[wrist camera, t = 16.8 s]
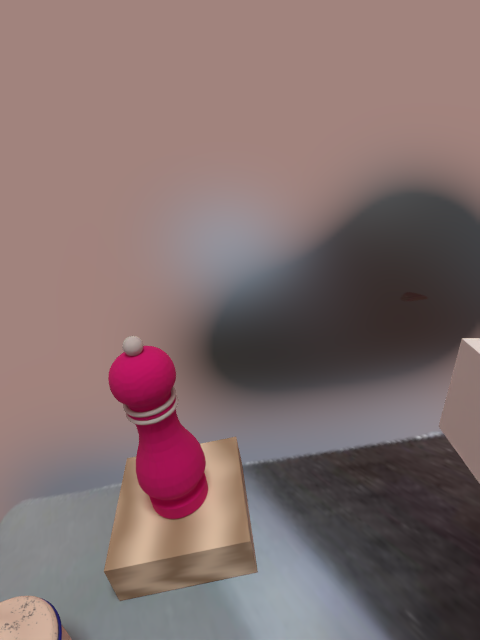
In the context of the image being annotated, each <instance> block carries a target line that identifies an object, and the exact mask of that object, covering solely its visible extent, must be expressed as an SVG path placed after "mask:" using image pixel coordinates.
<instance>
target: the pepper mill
mask: <svg viewBox="0 0 480 640" xmlns="http://www.w3.org/2000/svg"><path fill="white" fill-rule="evenodd" d="M123 350H124V353H122V354H121V355H120V356H118V357H117V358H116V360H115V361H114V362H113V364H112V366H111V368H110V371H109V385H110V390H111V392H112V394H113V395H114V397H115V398H116V399H117V400H118V401H119V402H121V403H123V408H124V410H125V412H126V417H127V418H128V420H129V421H130V422H132V423H134V424H135V425H136V426H137V429H138V433H139V446H138V451H137V456H136V475H137V479H138V483H139V485H140V487H141V489H142V490H143V491H144V492H145V493H146V494H147V495H149V498H150V500H151V503H152V506H153V508H154V510H155V511H156V512H157V513H158V514H159V515H160V516H162V517H165V518H169V519H179V518H182V517H185V516H188V515H190V514H192V513H193V512H194V511H196V510H197V509H198V508H199V507H200V506H201V505H202V503H203V502H204V500H205V498H206V496H207V493H208V484H207V480H206V476H205V473H204V471H205V466H206V460H205V455H204V452H203V450H202V448H201V445H200V444H199V442H198V441H197V440H196V438H195V437H194V436H193V435H192V434H191V433H190V432H189V431H188V430H186V429H185V428H184V427H183V426H182V425H181V424H180V422H179V420H178V417H177V414H176V407H177V405H178V397H177V395H176V390H175V388H174V387H173V385H174V383H175V379H176V372H175V367H174V364H173V362H172V360H171V359H170V357H169V356H168V355H167V354H166V353H165V352H164V351H162V350H161V349H159V348H156V347H152V346H143V342H142V340H141V339H140V338H139V337H136V336H130V337H128V338H126V339H125V340H124V342H123Z"/></svg>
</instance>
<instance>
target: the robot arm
mask: <svg viewBox="0 0 480 640" xmlns="http://www.w3.org/2000/svg"><path fill="white" fill-rule="evenodd" d="M439 427H440V429H441V430H442V432H443V433H444V434H445V436H446V437H447V439H448V440H449V441H450V443H451V444H452V446H453V447H454V448H455V450H456V451H457V453H458V454H459V455H460V457H461V458H462V460H463V461H464V462H465V464H466V465H467V467H468V468H469V469H470V471H471V472H472V474H473V475H474V476H475V478H476V479H477V481H478V482H479V483H480V338H467V339H466V338H462V341H461V344H460V348H459V352H458V356H457V359H456V363H455V367H454V371H453V374H452V378H451V382H450V386H449V389H448V393H447V397H446V400H445V404H444V408H443V412H442V416H441V419H440V423H439Z"/></svg>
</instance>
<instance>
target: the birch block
mask: <svg viewBox="0 0 480 640" xmlns="http://www.w3.org/2000/svg"><path fill="white" fill-rule="evenodd" d="M200 445H201V448H202V450H203V452H204V455H205V460H206V466H205V471H204V473H205V476H206V480H207V484H208V493H207V496H206V498H205V500H204V502H203V503H202V505H201V506H200V507H199V508H198V509H197V510H196V511H194V512H193V513H192V514H190V515H188V516H185V517H182V518H179V519H169V518H165V517H162V516H160V515H159V514H158V513H157V512H156V511H155V510H154V508H153V506H152V503H151V500H150V498H149V495H147V494H146V493H145V492H144V491H143V490H142V489H141V487H140V485H139V483H138V479H137V475H136V457H132V458H127V462H126V466H125V471H124V476H123V481H122V486H121V491H120V495H119V500H118V505H117V510H116V515H115V520H114V525H113V529H112V534H111V539H110V544H109V549H108V554H107V559H106V564H105V568H104V573H105V574H106V576H107V578H108V580H109V582H110V584H111V586H112V587H113V589H114V591H115V593H116V595H117V597H118V599H119V600H120V601H122V600H126V599H131V598H136V597H141V596H146V595H150V594H155V593H160V592H165V591H170V590H174V589H179V588H184V587H189V586H194V585H198V584H203V583H208V582H213V581H217V580H222V579H227V578H232V577H237V576H241V575H246V574H251V573H256V572H258V571H257V564H256V557H255V550H254V543H253V536H252V530H251V523H250V516H249V509H248V502H247V495H246V488H245V481H244V474H243V467H242V462H241V457H240V452H239V448H238V444H237V439H236V437H232V438H227V439H222V440H217V441H212V442H207V443H202V444H200Z"/></svg>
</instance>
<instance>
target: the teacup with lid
mask: <svg viewBox="0 0 480 640" xmlns="http://www.w3.org/2000/svg"><path fill="white" fill-rule="evenodd" d="M0 640H72V639H71V637H70V636H69V635H68V633H67V632H66V630H65V629H64V627H63V626H62V624H61V620H60V617H59V614H58V612H57V611H56V609H55V608H54V606H53V605H52V604H51V603H49V602H48V601H46V600H44V599H42V598H38V597H34V596H20V597H15V598H11V599H8V600H5V601H3V602H1V603H0Z"/></svg>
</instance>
